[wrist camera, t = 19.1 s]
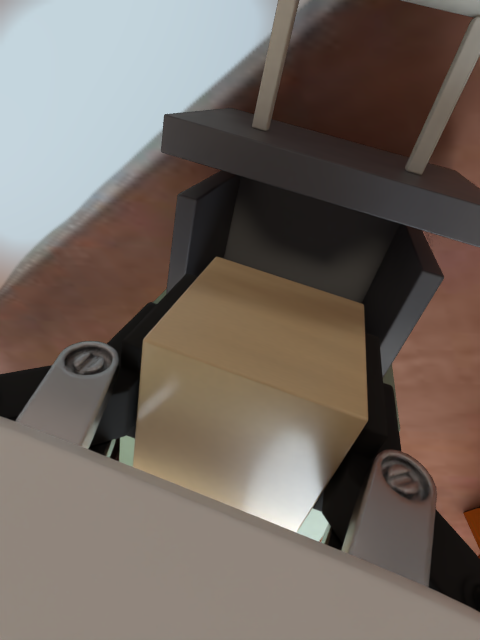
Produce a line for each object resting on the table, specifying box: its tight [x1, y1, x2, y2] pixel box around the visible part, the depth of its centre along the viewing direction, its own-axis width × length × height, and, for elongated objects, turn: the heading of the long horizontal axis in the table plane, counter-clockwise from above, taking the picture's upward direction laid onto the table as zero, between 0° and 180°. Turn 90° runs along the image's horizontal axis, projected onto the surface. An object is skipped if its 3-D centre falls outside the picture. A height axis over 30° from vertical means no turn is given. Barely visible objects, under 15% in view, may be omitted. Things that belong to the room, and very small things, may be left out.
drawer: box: [161, 0, 480, 377], centre depth 17 cm, size 20×11×8 cm, turn 167°
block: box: [133, 257, 368, 533], centre depth 10 cm, size 5×5×5 cm
